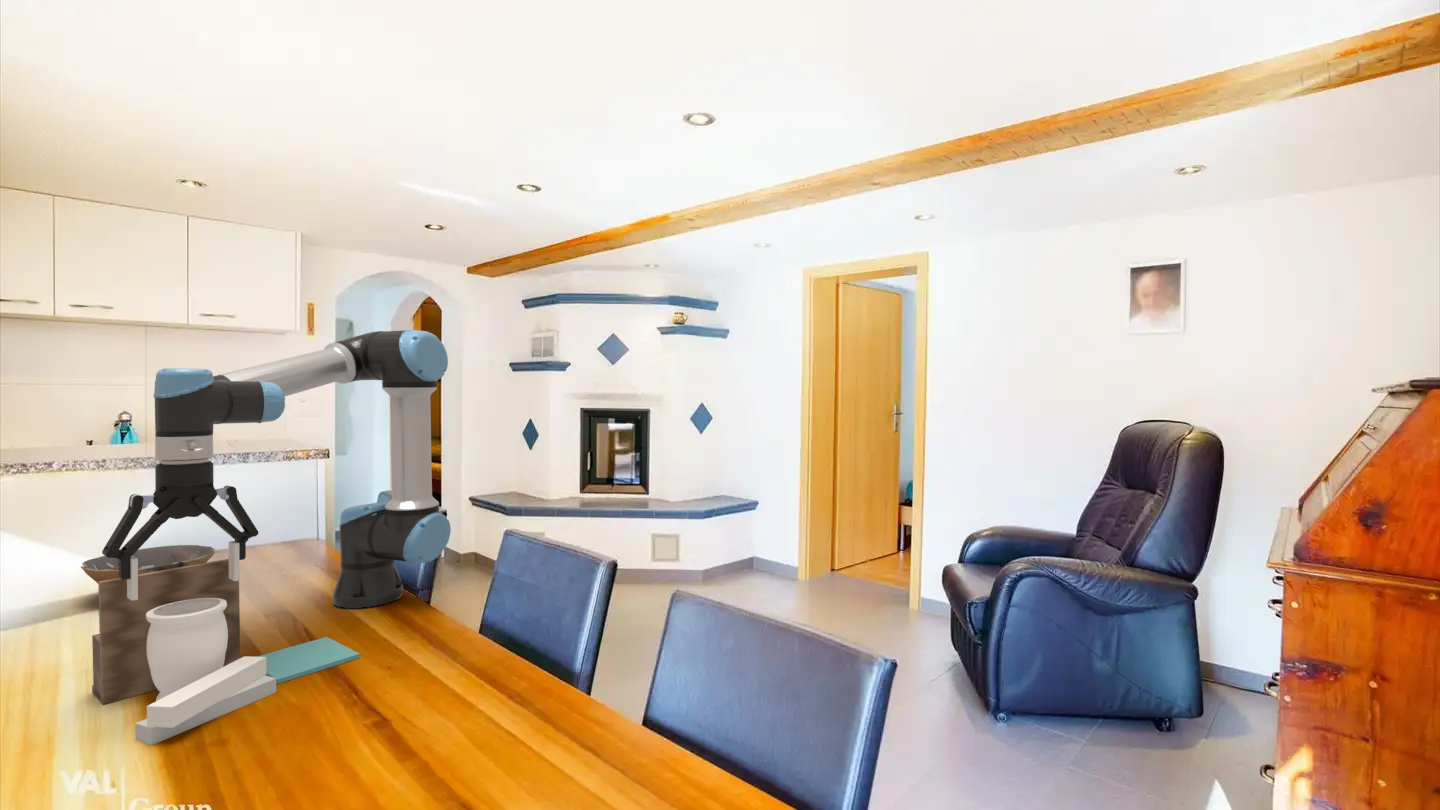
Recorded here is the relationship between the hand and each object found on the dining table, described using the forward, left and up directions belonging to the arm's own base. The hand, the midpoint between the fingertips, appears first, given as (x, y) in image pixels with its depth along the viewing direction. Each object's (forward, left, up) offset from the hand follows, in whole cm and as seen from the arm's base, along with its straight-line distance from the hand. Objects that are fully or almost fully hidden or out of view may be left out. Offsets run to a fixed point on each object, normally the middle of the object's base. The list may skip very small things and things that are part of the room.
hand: (185, 588), depth 111 cm
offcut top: (0, +10, -16) cm, 19 cm away
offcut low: (0, +10, -19) cm, 21 cm away
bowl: (-12, -71, -18) cm, 74 cm away
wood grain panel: (0, -11, -18) cm, 21 cm away
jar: (0, 0, -18) cm, 18 cm away
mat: (-18, 0, -18) cm, 25 cm away
